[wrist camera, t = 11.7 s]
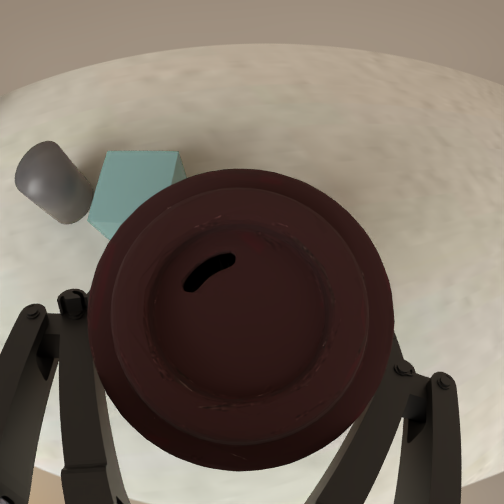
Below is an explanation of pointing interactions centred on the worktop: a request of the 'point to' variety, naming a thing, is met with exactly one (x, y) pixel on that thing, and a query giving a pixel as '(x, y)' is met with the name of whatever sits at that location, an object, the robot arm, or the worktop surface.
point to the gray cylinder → (54, 183)
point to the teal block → (130, 185)
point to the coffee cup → (240, 319)
